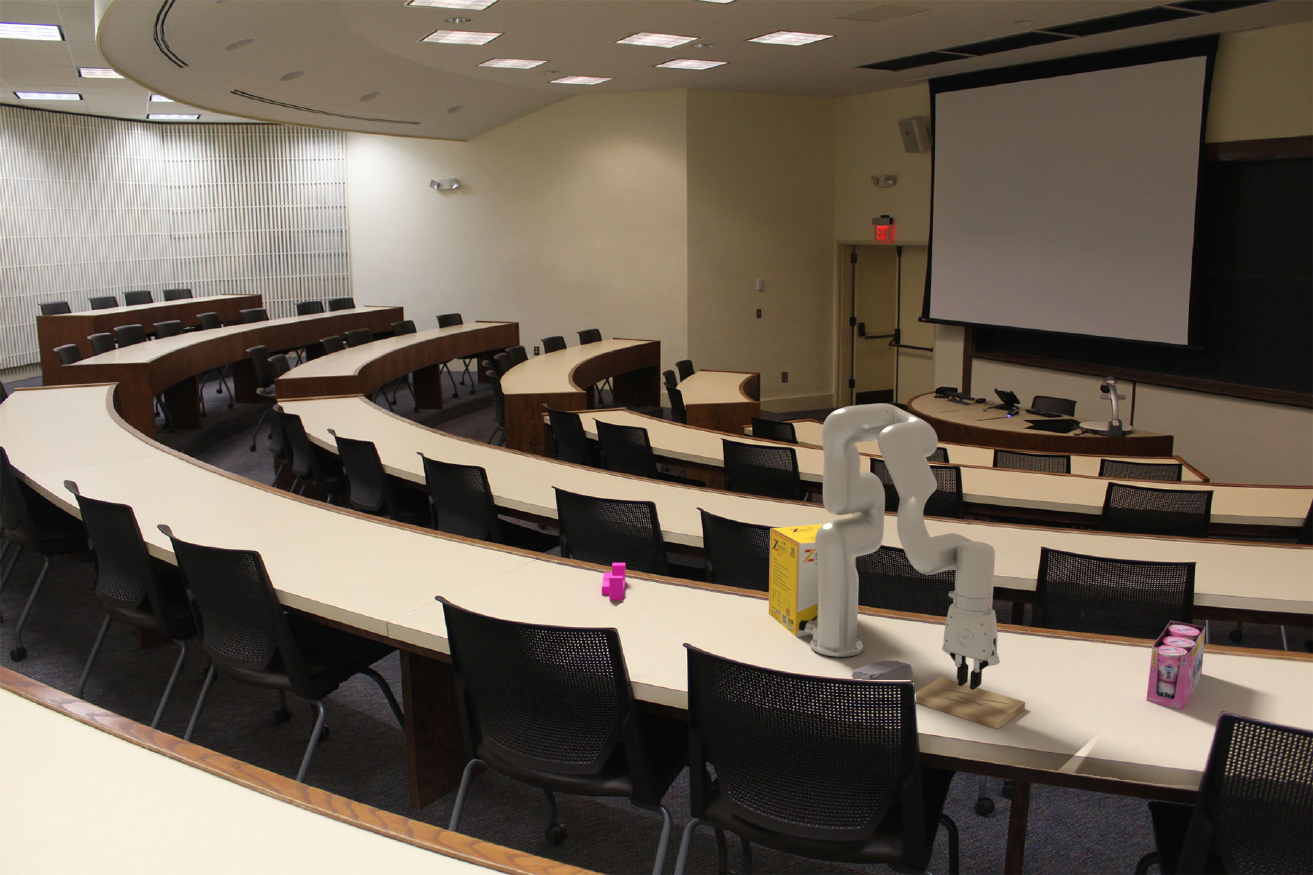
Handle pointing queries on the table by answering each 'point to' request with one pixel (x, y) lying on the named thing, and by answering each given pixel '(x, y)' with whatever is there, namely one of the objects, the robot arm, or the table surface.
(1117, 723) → the table surface
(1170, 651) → the gum box
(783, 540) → the packaging box
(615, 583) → the toy block
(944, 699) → the board
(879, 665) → the stone block
